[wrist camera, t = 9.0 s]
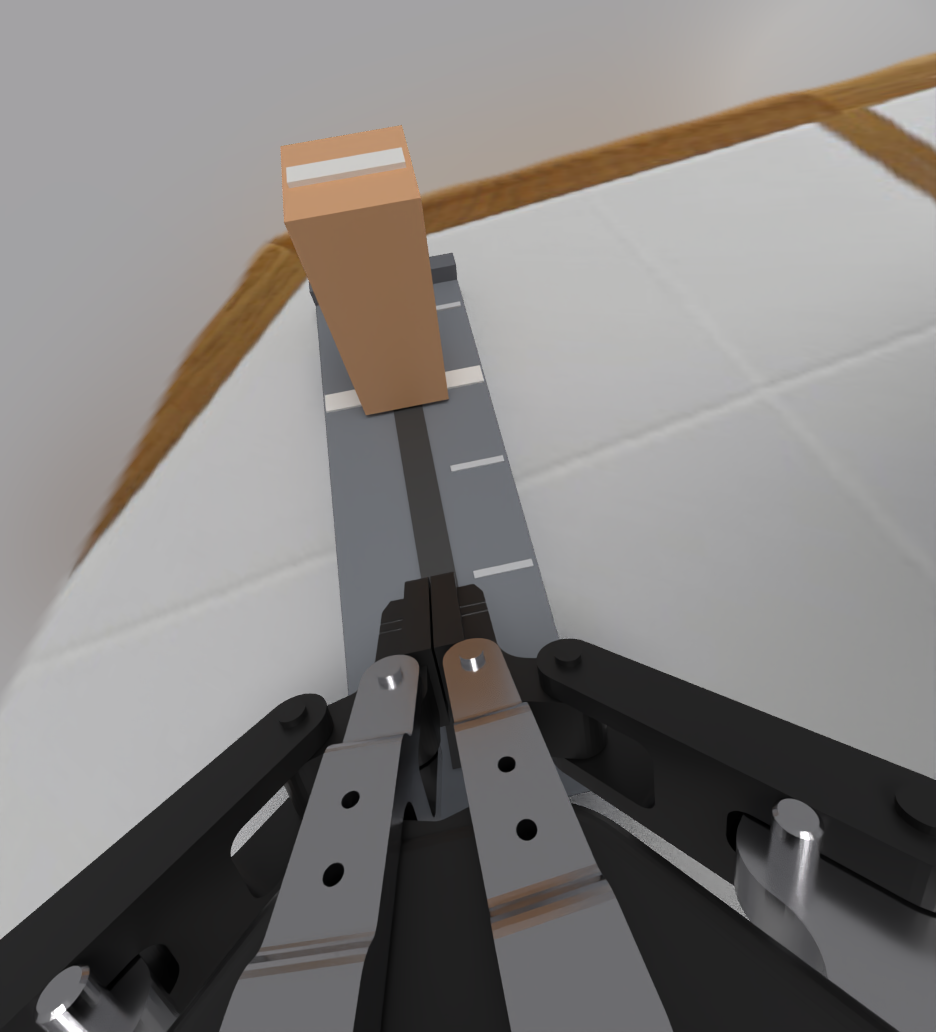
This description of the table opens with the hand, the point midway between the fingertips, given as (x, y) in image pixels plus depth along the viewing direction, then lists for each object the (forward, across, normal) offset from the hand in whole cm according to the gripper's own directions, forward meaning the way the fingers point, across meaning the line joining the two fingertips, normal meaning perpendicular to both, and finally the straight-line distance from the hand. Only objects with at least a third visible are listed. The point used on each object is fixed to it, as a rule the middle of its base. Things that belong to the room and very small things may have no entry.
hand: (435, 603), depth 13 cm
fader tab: (+11, 0, -6) cm, 13 cm away
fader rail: (+9, 0, -1) cm, 9 cm away
